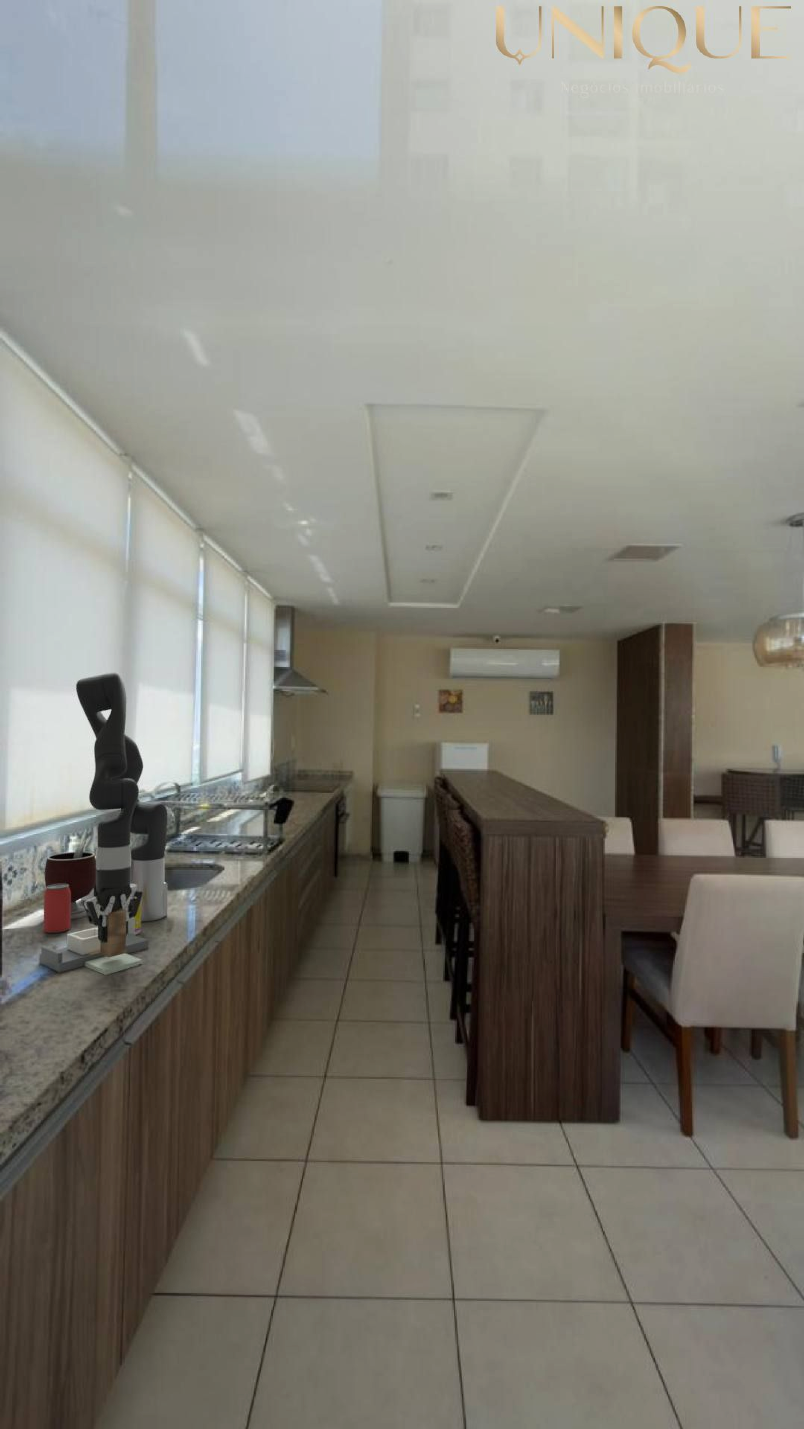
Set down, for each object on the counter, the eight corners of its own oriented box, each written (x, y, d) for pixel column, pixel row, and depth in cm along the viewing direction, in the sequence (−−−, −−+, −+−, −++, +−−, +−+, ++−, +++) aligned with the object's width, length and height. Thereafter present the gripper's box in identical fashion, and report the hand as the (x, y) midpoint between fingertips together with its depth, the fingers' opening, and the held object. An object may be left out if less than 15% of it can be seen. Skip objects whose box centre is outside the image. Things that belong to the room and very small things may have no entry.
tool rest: (121, 956, 167) (121, 951, 167) (142, 964, 161) (142, 959, 161) (84, 966, 160) (84, 961, 160) (105, 974, 154) (105, 970, 154)
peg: (116, 949, 163) (117, 906, 164) (125, 953, 161) (126, 909, 161) (100, 953, 160) (100, 910, 160) (109, 957, 158) (109, 913, 158)
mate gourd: (83, 920, 198) (83, 850, 198) (34, 920, 198) (35, 849, 198) (107, 906, 213) (107, 841, 213) (62, 906, 213) (62, 840, 214)
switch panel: (127, 940, 179) (127, 924, 179) (148, 947, 173) (148, 931, 173) (39, 963, 162) (39, 945, 162) (59, 972, 156) (59, 954, 156)
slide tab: (96, 941, 171) (96, 927, 172) (111, 947, 167) (111, 932, 167) (67, 948, 166) (67, 934, 166) (82, 955, 161) (82, 939, 161)
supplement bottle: (136, 928, 189) (137, 881, 190) (143, 934, 184) (144, 886, 184) (111, 933, 186) (111, 884, 186) (117, 939, 180) (117, 889, 180)
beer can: (76, 928, 190) (76, 884, 190) (57, 935, 184) (57, 889, 184) (57, 925, 192) (57, 882, 192) (37, 932, 186) (38, 887, 186)
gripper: (133, 858, 169) (132, 929, 169) (75, 867, 158) (74, 943, 157) (150, 862, 164) (149, 935, 164) (92, 872, 153) (91, 950, 153)
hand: (113, 939), depth 161 cm, fingers closed on peg, 4 cm apart
